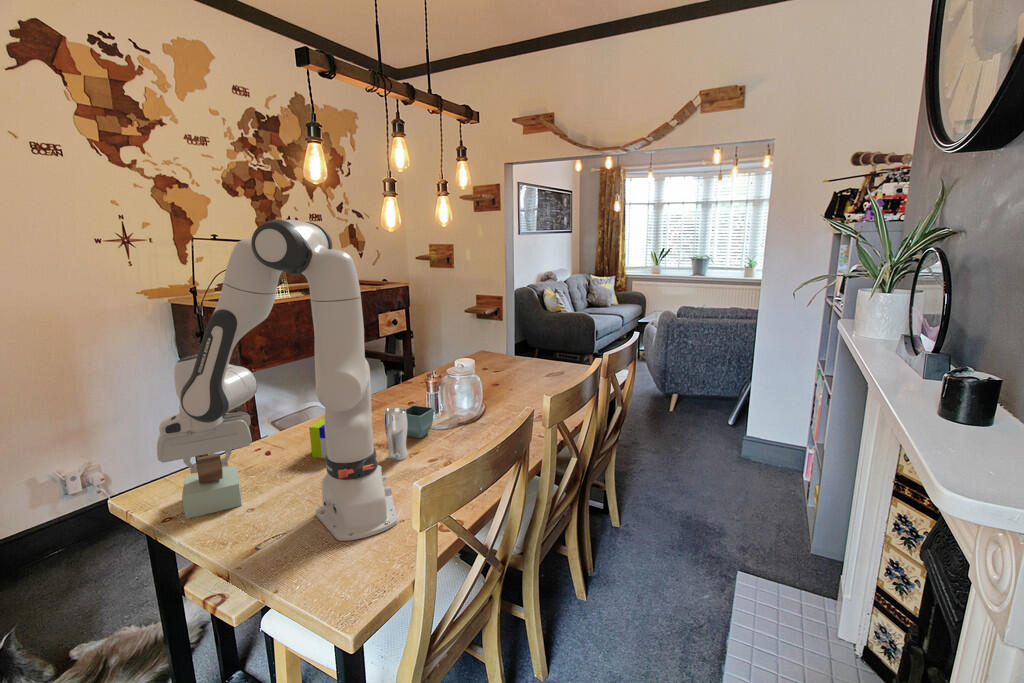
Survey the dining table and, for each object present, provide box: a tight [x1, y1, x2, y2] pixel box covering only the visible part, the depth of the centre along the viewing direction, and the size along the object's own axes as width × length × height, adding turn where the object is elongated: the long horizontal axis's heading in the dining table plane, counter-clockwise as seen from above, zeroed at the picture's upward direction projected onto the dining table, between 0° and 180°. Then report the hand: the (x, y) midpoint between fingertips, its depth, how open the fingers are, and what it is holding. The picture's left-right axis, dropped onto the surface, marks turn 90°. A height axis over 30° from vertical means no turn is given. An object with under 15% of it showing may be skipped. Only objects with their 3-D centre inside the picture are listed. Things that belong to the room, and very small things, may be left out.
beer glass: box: [383, 406, 409, 462], centre depth 150 cm, size 7×7×15 cm
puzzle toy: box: [308, 417, 327, 459], centre depth 154 cm, size 10×10×10 cm
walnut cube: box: [195, 452, 223, 484], centre depth 124 cm, size 5×5×5 cm
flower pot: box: [405, 404, 435, 439], centre depth 167 cm, size 9×9×9 cm
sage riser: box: [181, 464, 243, 520], centre depth 126 cm, size 12×12×6 cm
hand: (210, 468), depth 124 cm, fingers open, 5 cm apart
